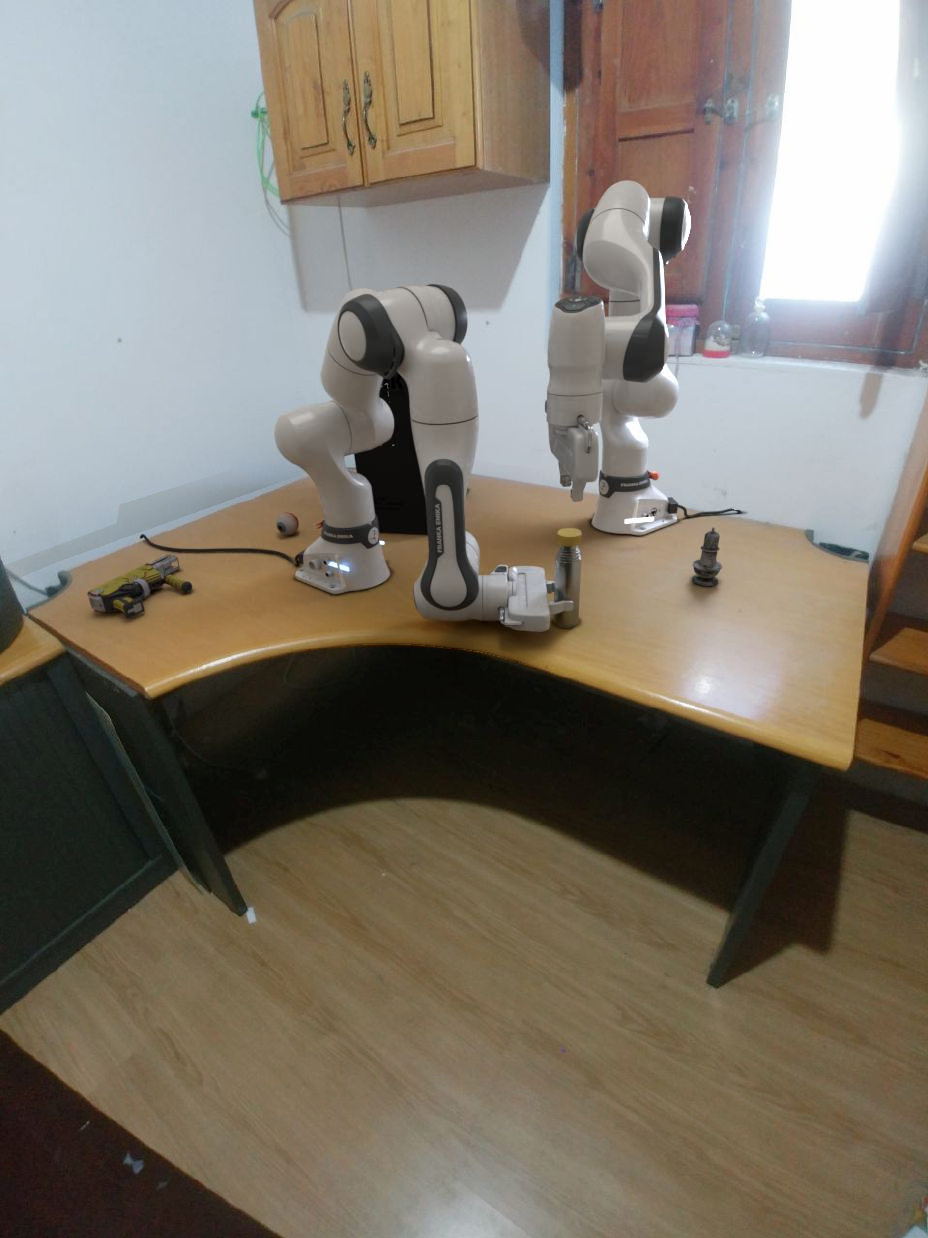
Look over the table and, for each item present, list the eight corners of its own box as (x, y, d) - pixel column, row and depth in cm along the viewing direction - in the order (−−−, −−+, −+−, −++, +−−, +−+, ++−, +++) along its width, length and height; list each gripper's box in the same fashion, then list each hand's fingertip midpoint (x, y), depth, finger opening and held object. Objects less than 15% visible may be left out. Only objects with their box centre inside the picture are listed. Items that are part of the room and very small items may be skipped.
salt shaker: (721, 586, 126) (731, 533, 120) (692, 585, 127) (700, 532, 121) (717, 574, 131) (726, 522, 125) (688, 573, 132) (696, 521, 126)
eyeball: (273, 537, 164) (268, 516, 161) (287, 528, 169) (282, 508, 166) (291, 539, 161) (286, 518, 158) (305, 530, 166) (301, 510, 163)
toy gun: (216, 562, 143) (165, 551, 147) (137, 606, 123) (80, 592, 127) (219, 580, 145) (169, 569, 149) (142, 626, 125) (86, 611, 129)
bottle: (557, 613, 120) (559, 528, 111) (581, 617, 118) (585, 531, 109) (550, 625, 116) (552, 538, 107) (574, 629, 115) (579, 540, 106)
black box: (436, 534, 159) (422, 349, 137) (364, 531, 164) (339, 351, 141) (468, 489, 191) (460, 332, 168) (407, 487, 195) (391, 335, 173)
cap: (560, 536, 112) (560, 526, 111) (583, 538, 110) (584, 529, 109) (553, 545, 108) (554, 535, 107) (577, 547, 107) (578, 538, 106)
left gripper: (497, 610, 105) (577, 608, 104) (499, 560, 123) (567, 559, 122) (498, 640, 108) (576, 639, 107) (499, 588, 126) (566, 587, 125)
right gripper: (611, 422, 89) (605, 511, 96) (578, 397, 106) (575, 474, 113) (569, 425, 88) (566, 514, 95) (542, 399, 106) (541, 477, 113)
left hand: (571, 596), depth 115 cm, fingers closed on bottle, 5 cm apart
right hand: (570, 492), depth 104 cm, fingers open, 7 cm apart
